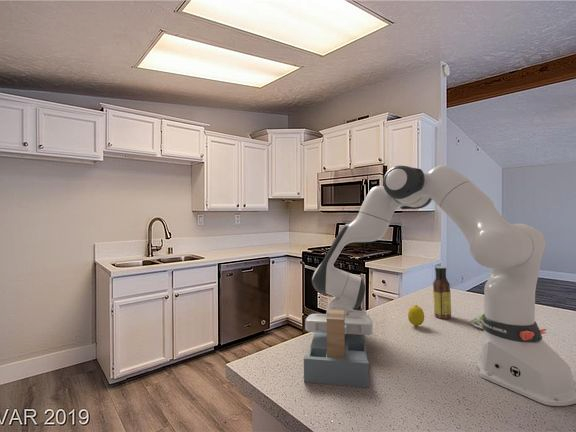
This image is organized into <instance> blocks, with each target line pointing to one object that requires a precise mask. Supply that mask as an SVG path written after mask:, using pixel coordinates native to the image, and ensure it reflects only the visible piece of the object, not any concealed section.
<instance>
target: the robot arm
mask: <svg viewBox="0 0 576 432" xmlns="http://www.w3.org/2000/svg"><path fill="white" fill-rule="evenodd" d="M432 202H434V203H435V204H436V205H438V207H439V208H440V209H441V210H442V211H443V212H444V213H445V214H446V215H447V216H448V217H449V218H450V219H451V220H452V222H453V223H455V224H456V226H457V227H458V228H459V229H460V231H461V232H462V233H463V235H464V237H465V238H466V241H467V242H468V244H469V252H470V254H471V256H472V258H473V260H474V261H475V262H477V264H479V265H480V266H483V267H486V268H489V269H491V270H490V274H489V276H488V279H487V281H486V282H485V285H484V287H483V288H484V289H483V290H484V292H483V293H484V294H483V295H484V297H483V298H484V299H483V300H484V301H483V302H484V305H483V307H484V309H483V310H484V313H483V314H482V315H483V319H482V323H481V324H482V326H481V327H482V328H483V329H484V331H483V336H482V337H483V338H482V344H481V345H482V346H481V351H480V354H479V357H478V361H477V362H476V363H477V365H476V366H477V368H478V369H479V376H480V378H482V379H485V380H487V381H489V382H492V383H493V384H496V385H498V386H501V387H503V388H506V389H507V390H510V391H513V392H515V393H517V394H519V395H522V396H524V397H526V398H529V399H531V400H533V401H536V402H537V403H540V404H543V405H546V406H553V407H564V406H571V405H575V404H576V383H575V382H574V376H573V372H572V370H571V367H570V365H569V364H568V362H566V361H565V359H563V358H562V357H561V356H560V355H559V354H558V353H557V352H556V351H554V349H553V348H552V347H551V346H549V344H548V343H547V342H546V341H544V339H543V336H542V335H544V334H547V332H546V331H547V328H541V329H540V328H539V325H538V323H537V322H536V321H535V320H536V313H535V312H536V288H537V282H538V279H539V274H540V269H541V264H542V257H543V254H544V251H545V249H546V246H547V245H546V238H545V237H544V235H543V234H542V232H541V231H540V230H538V229H537V228H535V227H533V226H530V225H529V224H525V223H509V222H508V221H507V220H506V219H505V218H504V217H503V216H502V215H501V214H500V212H499V211H498V209H497V208H496V207H495V203H494V201H493V199H492V198H490V197H489V196H488V195H487V194H486V193H485V192H483V190H481V189H480V188H479V187H478V186H477V185H476V184H474V183H473V182H472V181H471V180H470V179H468V177H465V176H464V175H463V174H462V173H460V172H459V171H457V170H456V169H454V168H452V167H450V166H448V165H444V164H442V165H437V166H434V168H432V169H430V170H429V171H428V172H424V171H423V170H422V169H421V168H417V167H412V166H408V165H394V166H392V167H391V168H389V169H388V170H387V171H386V172H385V174H384V176H383V179H382V185H376V186H373V187H371V189H370V190H369V191H368V193H367V194H366V195H365V198H364V200H363V202H362V204H361V205H360V209H359V211H358V214H357V215H356V218H355V219H353V220H352V221H351V222H349V223H345V224H344V225H343V226H342V228H341V229H340V231H339V233H338V234H337V235H336V237H335V238H334V240H333V242H332V244H331V246H330V247H329V249H328V251H327V252H326V255H325V256H324V258H323V260H322V261H321V262H320V264H318V266H317V268H316V269H315V270H314V272H313V273H312V274H313V275H312V277H311V284H312V286H313V288H314V289H315V291H317V292H318V293H322V294H325V295H326V294H327V295H329V296H332V298H331V299H330V300H329V302H328V305H327V308H326V313H311V314H309V315H308V316H307V317H306V318H305V322H304V325H305V326H304V327H305V331H307V332H309V333H315V332H322V333H327V314H328V309H334V310H344V312H345V334H357V335H364V336H371V335H373V321H372V318H371V317H370V315H369V314H367V310H366V309H365V308H360V306H361V305H362V303H363V301H364V297H365V294H366V284H365V280H364V279H363V278H362V277H361V276H358V275H356V274H353V273H351V272H348V271H345V270H343V269H339V268H338V267H335V265H334V264H335V262H336V261H337V260H338V259H337V258H338V257H339V255H340V254H341V252H342V250H343V249H344V247H345V246H347V245H349V244H351V243H371V242H376V241H379V240H381V239H382V238H383V237H385V235H386V233H387V231H388V228H389V226H390V223H391V221H392V219H393V215H394V213H395V212H396V210H397V209H398V208H400V209H401V210H417V209H423V208H425V207H427V206H428V205H430V203H432Z"/></svg>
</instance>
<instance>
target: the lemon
mask: <svg viewBox="0 0 576 432" xmlns="http://www.w3.org/2000/svg"><path fill="white" fill-rule="evenodd" d="M407 317H408V321H409V323H410V324H412V326H414V327H416V328H417V327H419V326H421V325H422V324H423V323H424V322H425V313H424V310H423V308H422V307H420V306H419V305H417V304H416V305H413V306H411V307H410V308H409V310H408V312H407Z"/></svg>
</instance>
